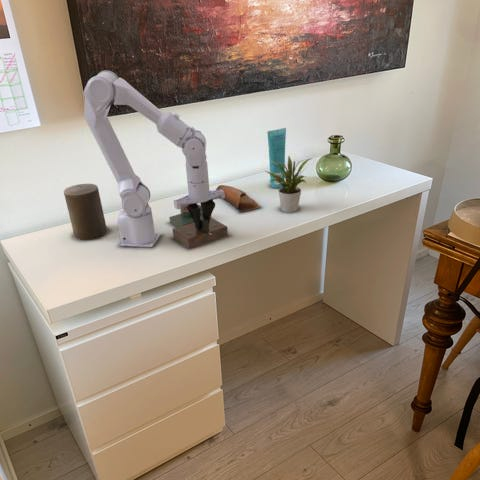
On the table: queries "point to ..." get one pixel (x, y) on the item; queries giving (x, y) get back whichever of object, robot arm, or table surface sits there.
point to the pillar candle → (85, 211)
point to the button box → (183, 217)
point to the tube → (276, 153)
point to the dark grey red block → (204, 224)
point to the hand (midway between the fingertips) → (202, 227)
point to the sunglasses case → (238, 198)
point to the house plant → (289, 186)
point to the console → (199, 234)
